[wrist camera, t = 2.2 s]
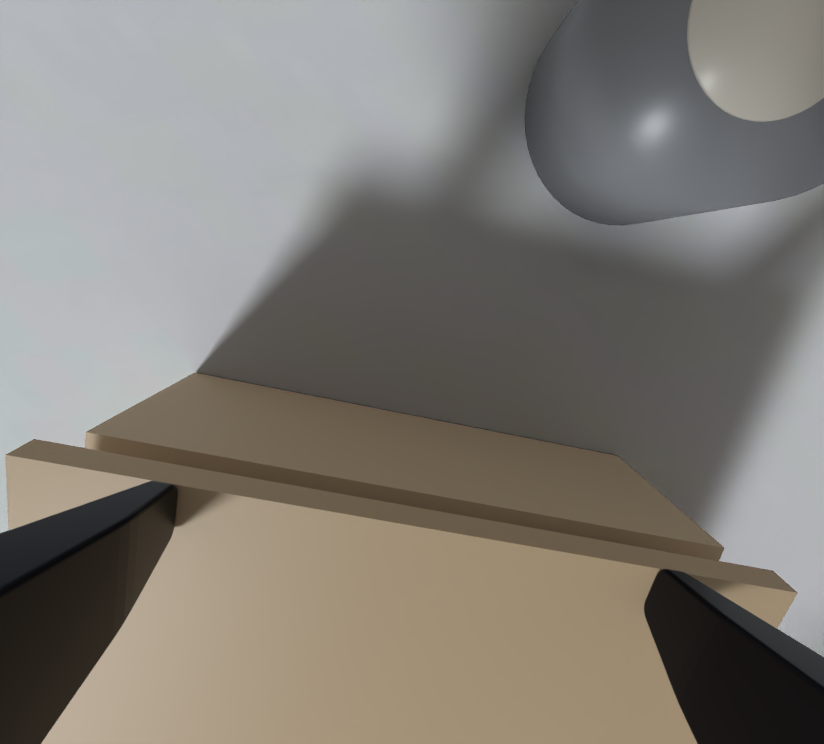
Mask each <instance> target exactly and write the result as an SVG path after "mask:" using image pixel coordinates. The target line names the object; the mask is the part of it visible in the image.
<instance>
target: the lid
mask: <svg viewBox="0 0 824 744" xmlns="http://www.w3.org/2000/svg"><path fill="white" fill-rule="evenodd" d="M6 477H7V501H8V525H9V530H12V529H14V528H17V527H20V526H23V525H26V524H29V523H32V522H34V521H37V520H40V519H43V518H46V517H49V516H52V515H54V514H57V513H60V512H63V511H66V510H69V509H72V508H75V507H77V506H80V505H83V504H86V503H89V502H92V501H95V500H97V499H100V498H103V497H106V496H109V495H112V494H115V493H118V492H120V491H123V490H126V489H129V488H132V487H135V486H138V485H140V484H143V483H146V482H149V481H159V482H165V483H170V484H174V485H175V486H176V487H177V490H178V497H177V507H176V518H175V527H174V531H173V534H172V537H171V539H170V541H169V543H168V545H167V547H166V548H165V550H164V552H163V554H162V556H161V557H160V559H159V561H158V563H157V565H156V567H155V568H154V570H153V572H152V574H151V576H150V577H149V579H148V581H147V583H146V585H145V587H144V588H143V590H142V592H141V594H140V596H139V597H138V599H137V601H136V603H135V605H134V606H133V608H132V610H131V612H130V613H129V615H128V617H127V619H126V620H125V622H124V624H123V625H122V627H121V628H120V630H119V631H118V633H117V634H116V636H115V637H114V639H113V640H112V642H111V643H110V645H109V646H108V648H107V649H106V651H105V652H104V653H103V655H102V656H101V658H100V659H99V661H98V662H97V664H96V665H95V666H94V668H93V669H92V671H91V672H90V674H89V675H88V677H87V678H86V679H85V681H84V682H83V684H82V685H81V687H80V688H79V690H78V691H77V692H76V694H75V695H74V697H73V698H72V700H71V701H70V703H69V704H68V706H67V707H66V708H65V710H64V711H63V713H62V714H61V716H60V717H59V719H58V720H57V721H56V723H55V724H54V726H53V727H52V729H51V730H50V732H49V733H48V734H47V736H46V737H45V739H44V740H43V742H42V743H41V744H697V742H696V740H695V738H694V736H693V734H692V732H691V729H690V727H689V725H688V723H687V721H686V719H685V717H684V714H683V712H682V710H681V708H680V706H679V703H678V701H677V699H676V696H675V694H674V691H673V689H672V686H671V684H670V681H669V678H668V676H667V673H666V670H665V668H664V665H663V663H662V660H661V657H660V655H659V652H658V650H657V647H656V644H655V642H654V639H653V636H652V634H651V631H650V629H649V626H648V623H647V621H646V618H645V614H644V603H645V600H646V598H647V595H648V593H649V591H650V589H651V586H652V584H653V582H654V579H655V577H656V575H657V573H658V572H659V571H660V570H662V569H671V570H677V571H682V572H685V573H687V574H688V575H690V576H692V577H693V578H695V579H697V580H698V581H700V582H701V583H703V584H705V585H706V586H708V587H710V588H711V589H713V590H715V591H716V592H718V593H719V594H721V595H723V596H724V597H726V598H728V599H729V600H731V601H733V602H734V603H736V604H737V605H739V606H741V607H742V608H744V609H746V610H747V611H749V612H750V613H752V614H754V615H755V616H757V617H759V618H760V619H762V620H764V621H765V622H767V623H768V624H770V625H772V626H773V627H775V628H778V626H779V624H780V622H781V621H782V619H783V617H784V616H785V614H786V612H787V610H788V609H789V607H790V605H791V603H792V602H793V600H794V598H795V597H796V595H797V592H796V591H795V590H794V589H793V588H792V587H790V586H789V585H788V584H787V583H786V582H785V581H784V580H783V579H782V578H780V577H779V576H778V575H777V574H776V573H775V572H774V571H771V570H766V569H760V568H755V567H749V566H743V565H738V564H732V563H727V562H721V561H715V560H710V559H704V558H699V557H693V556H687V555H682V554H676V553H670V552H665V551H659V550H654V549H648V548H642V547H637V546H631V545H626V544H620V543H614V542H609V541H603V540H597V539H592V538H586V537H581V536H575V535H569V534H564V533H558V532H553V531H547V530H541V529H536V528H530V527H524V526H519V525H513V524H508V523H502V522H496V521H491V520H485V519H480V518H474V517H468V516H463V515H457V514H451V513H446V512H440V511H435V510H429V509H423V508H418V507H412V506H407V505H401V504H395V503H390V502H384V501H379V500H373V499H367V498H362V497H356V496H350V495H345V494H339V493H334V492H328V491H322V490H317V489H311V488H306V487H300V486H294V485H289V484H283V483H277V482H272V481H266V480H261V479H255V478H249V477H244V476H238V475H233V474H227V473H221V472H216V471H210V470H204V469H199V468H193V467H188V466H182V465H176V464H171V463H165V462H160V461H154V460H148V459H143V458H137V457H131V456H126V455H120V454H115V453H109V452H103V451H98V450H92V449H87V448H81V447H75V446H70V445H64V444H59V443H53V442H47V441H42V440H36V439H33V440H32V441H30V442H28V443H26V444H24V445H23V446H21V447H19V448H17V449H15V450H14V451H12V452H10V453H8V454H6Z"/></svg>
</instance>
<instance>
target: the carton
mask: <svg viewBox="0 0 824 744" xmlns="http://www.w3.org/2000/svg"><path fill="white" fill-rule="evenodd" d="M85 448H87V449H92V450H98V451H103V452H109V453H115V454H120V455H126V456H131V457H137V458H143V459H148V460H154V461H160V462H165V463H171V464H176V465H182V466H188V467H193V468H199V469H204V470H210V471H216V472H221V473H227V474H233V475H238V476H244V477H249V478H255V479H261V480H266V481H272V482H277V483H283V484H289V485H294V486H300V487H306V488H311V489H317V490H322V491H328V492H334V493H339V494H345V495H350V496H356V497H362V498H367V499H373V500H379V501H384V502H390V503H395V504H401V505H407V506H412V507H418V508H423V509H429V510H435V511H440V512H446V513H451V514H457V515H463V516H468V517H474V518H480V519H485V520H491V521H496V522H502V523H508V524H513V525H519V526H524V527H530V528H536V529H541V530H547V531H553V532H558V533H564V534H569V535H575V536H581V537H586V538H592V539H597V540H603V541H609V542H614V543H620V544H626V545H631V546H637V547H642V548H648V549H654V550H659V551H665V552H670V553H676V554H682V555H687V556H693V557H699V558H704V559H710V560H715V561H719V559H720V557H721V554H722V552H723V550H724V547H723V546H722V545H721V544H719V543H718V542H717V541H716V540H715V539H714V538H712V537H711V536H710V535H709V534H708V533H707V532H705V531H704V530H703V529H702V528H701V527H700V526H698V525H697V524H696V523H695V522H694V521H693V520H691V519H690V518H689V517H688V516H687V515H686V514H684V513H683V512H682V511H681V510H680V509H679V508H678V507H676V506H675V505H674V504H673V503H672V502H671V501H669V500H668V499H667V498H666V497H665V496H664V495H662V494H661V493H660V492H659V491H658V490H657V489H655V488H654V487H653V486H652V485H651V484H650V483H648V482H647V481H646V480H645V479H644V478H643V477H641V476H640V475H639V474H638V473H637V472H636V471H634V470H633V469H632V468H631V467H630V466H629V465H627V464H626V463H625V462H624V461H623V460H622V459H620V458H619V457H618V456H616V455H611V454H606V453H601V452H595V451H590V450H585V449H580V448H575V447H570V446H565V445H560V444H555V443H550V442H545V441H540V440H534V439H529V438H524V437H519V436H514V435H509V434H504V433H499V432H494V431H489V430H484V429H479V428H473V427H468V426H463V425H458V424H453V423H448V422H443V421H438V420H433V419H428V418H423V417H418V416H413V415H407V414H402V413H397V412H392V411H387V410H382V409H377V408H372V407H367V406H362V405H357V404H352V403H346V402H341V401H336V400H331V399H326V398H321V397H316V396H311V395H306V394H301V393H296V392H291V391H285V390H280V389H275V388H270V387H265V386H260V385H255V384H250V383H245V382H240V381H235V380H230V379H225V378H219V377H214V376H209V375H204V374H199V373H193V374H191V375H189V376H188V377H186V378H184V379H182V380H180V381H178V382H177V383H175V384H173V385H171V386H169V387H167V388H166V389H164V390H162V391H160V392H158V393H156V394H155V395H153V396H151V397H149V398H147V399H145V400H144V401H142V402H140V403H138V404H136V405H134V406H133V407H131V408H129V409H127V410H125V411H124V412H122V413H120V414H118V415H116V416H114V417H113V418H111V419H109V420H107V421H105V422H103V423H102V424H100V425H98V426H96V427H94V428H92V429H91V430H89V431H87V432H86V440H85Z"/></svg>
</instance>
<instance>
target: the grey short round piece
mask: <svg viewBox="0 0 824 744" xmlns="http://www.w3.org/2000/svg"><path fill="white" fill-rule="evenodd" d="M525 133H526V139H527V145H528V150H529V153H530V156H531V160H532V163H533V165H534V167H535V170H536V172H537V174H538V176H539V178H540V179H541V181H542V182H543V184H544V186H545V187H546V188H547V190H548V191H549V192H550V193H551V195H552V196H553V197H554V198H555V199H556V200H557V201H558V202H559V203H561V204H562V205H563V206H564V207H565V208H567V209H568V210H570V211H571V212H573V213H574V214H576V215H578V216H580V217H582V218H584V219H587V220H590V221H593V222H596V223H601V224H607V225H630V224H638V223H644V222H650V221H656V220H662V219H668V218H674V217H680V216H686V215H692V214H698V213H704V212H710V211H716V210H722V209H728V208H734V207H740V206H746V205H752V204H758V203H764V202H770V201H776V200H780V199H784V198H788V197H791V196H795V195H798V194H800V193H803V192H805V191H808V190H810V189H813V188H815V187H817V186H819V185H821V184H823V183H824V0H578V1H577V3H576V4H575V5H574V7H573V8H572V10H571V11H570V13H569V14H568V15H567V17H566V18H565V20H564V21H563V23H562V24H561V25H560V27H559V28H558V30H557V31H556V33H555V34H554V35H553V37H552V38H551V40H550V41H549V43H548V44H547V46H546V48H545V49H544V51H543V53H542V54H541V56H540V58H539V61H538V63H537V65H536V67H535V70H534V72H533V75H532V78H531V82H530V85H529V89H528V94H527V99H526V109H525Z"/></svg>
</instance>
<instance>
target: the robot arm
mask: <svg viewBox="0 0 824 744" xmlns="http://www.w3.org/2000/svg"><path fill="white" fill-rule="evenodd" d="M177 497H178V490H177V487H176V486H175V485H174V484H170V483H165V482H159V481H149V482H146V483H143V484H140V485H138V486H135V487H132V488H129V489H126V490H123V491H120V492H118V493H115V494H112V495H109V496H106V497H103V498H100V499H97V500H95V501H92V502H89V503H86V504H83V505H80V506H77V507H75V508H72V509H69V510H66V511H63V512H60V513H57V514H54V515H52V516H49V517H46V518H43V519H40V520H37V521H34V522H32V523H29V524H26V525H23V526H20V527H17V528H14V529H12V530H9V531H6V532H3V533H0V744H41V743H42V742H43V740H44V739H45V737H46V736H47V734H48V733H49V732H50V730H51V729H52V727H53V726H54V724H55V723H56V721H57V720H58V719H59V717H60V716H61V714H62V713H63V711H64V710H65V708H66V707H67V706H68V704H69V703H70V701H71V700H72V698H73V697H74V695H75V694H76V692H77V691H78V690H79V688H80V687H81V685H82V684H83V682H84V681H85V679H86V678H87V677H88V675H89V674H90V672H91V671H92V669H93V668H94V666H95V665H96V664H97V662H98V661H99V659H100V658H101V656H102V655H103V653H104V652H105V651H106V649H107V648H108V646H109V645H110V643H111V642H112V640H113V639H114V637H115V636H116V634H117V633H118V631H119V630H120V628H121V627H122V625H123V624H124V622H125V620H126V619H127V617H128V615H129V613H130V612H131V610H132V608H133V606H134V605H135V603H136V601H137V599H138V597H139V596H140V594H141V592H142V590H143V588H144V587H145V585H146V583H147V581H148V579H149V577H150V576H151V574H152V572H153V570H154V568H155V567H156V565H157V563H158V561H159V559H160V557H161V556H162V554H163V552H164V550H165V548H166V547H167V545H168V543H169V541H170V539H171V537H172V534H173V531H174V527H175V518H176V507H177ZM644 614H645V618H646V621H647V623H648V626H649V629H650V631H651V634H652V636H653V639H654V642H655V644H656V647H657V650H658V652H659V655H660V657H661V660H662V663H663V665H664V668H665V670H666V673H667V676H668V678H669V681H670V684H671V686H672V689H673V691H674V694H675V696H676V699H677V701H678V703H679V706H680V708H681V710H682V712H683V714H684V717H685V719H686V721H687V723H688V725H689V727H690V729H691V732H692V734H693V736H694V738H695V740H696V742H697V744H824V657H822V656H821V655H819V654H817V653H816V652H814V651H813V650H811V649H809V648H808V647H806V646H804V645H803V644H801V643H799V642H798V641H796V640H795V639H793V638H791V637H790V636H788V635H786V634H785V633H783V632H782V631H780V630H778V629H777V628H775V627H773V626H772V625H770V624H768V623H767V622H765V621H764V620H762V619H760V618H759V617H757V616H755V615H754V614H752V613H750V612H749V611H747V610H746V609H744V608H742V607H741V606H739V605H737V604H736V603H734V602H733V601H731V600H729V599H728V598H726V597H724V596H723V595H721V594H719V593H718V592H716V591H715V590H713V589H711V588H710V587H708V586H706V585H705V584H703V583H701V582H700V581H698V580H697V579H695V578H693V577H692V576H690V575H688V574H687V573H685V572H682V571H677V570H671V569H662V570H660V571H659V572H658V573H657V575H656V577H655V579H654V582H653V584H652V586H651V589H650V591H649V593H648V595H647V598H646V600H645V603H644Z"/></svg>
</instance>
